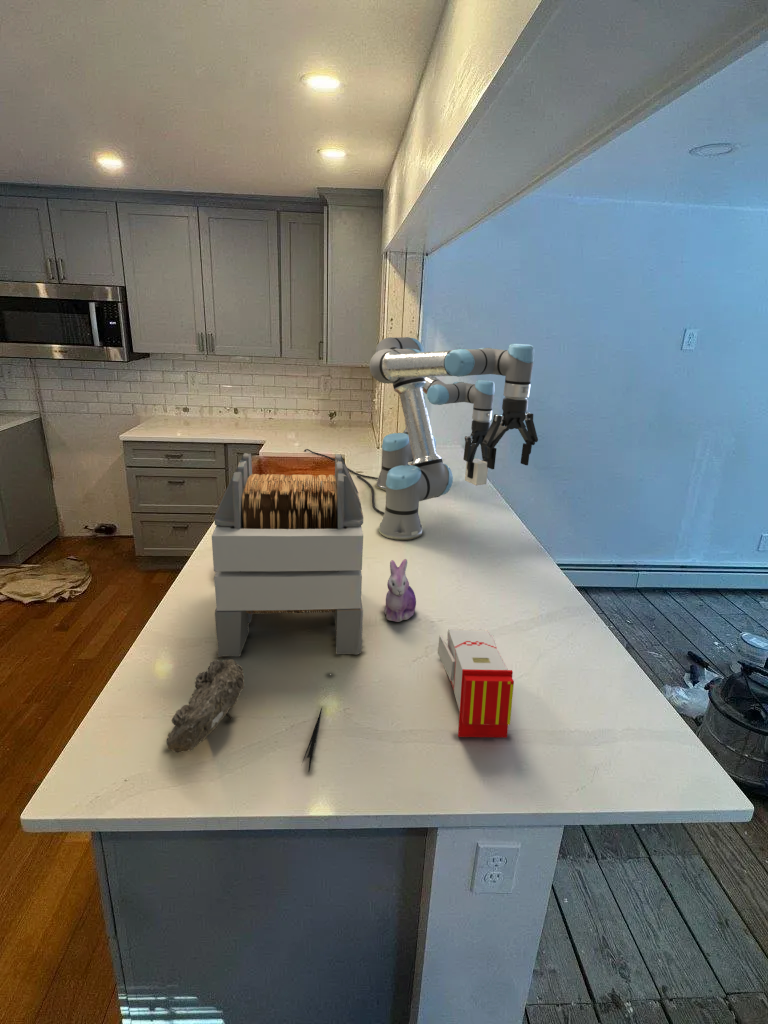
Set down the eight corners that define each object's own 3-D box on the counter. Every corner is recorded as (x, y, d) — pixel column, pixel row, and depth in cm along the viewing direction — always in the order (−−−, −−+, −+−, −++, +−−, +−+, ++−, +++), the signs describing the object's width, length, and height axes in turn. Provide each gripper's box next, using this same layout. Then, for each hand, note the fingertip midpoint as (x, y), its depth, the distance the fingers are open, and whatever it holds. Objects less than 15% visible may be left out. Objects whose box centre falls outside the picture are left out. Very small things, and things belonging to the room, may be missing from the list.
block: (476, 485, 228) (478, 463, 225) (464, 480, 235) (466, 459, 232) (486, 484, 231) (488, 462, 228) (474, 479, 237) (476, 458, 234)
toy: (488, 613, 130) (523, 677, 101) (484, 667, 133) (517, 744, 104) (435, 612, 130) (455, 676, 101) (432, 666, 133) (451, 743, 103)
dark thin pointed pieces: (331, 679, 122) (336, 673, 122) (307, 777, 96) (313, 769, 95) (324, 675, 122) (329, 669, 121) (298, 772, 95) (304, 764, 95)
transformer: (236, 587, 157) (228, 443, 143) (353, 586, 161) (357, 445, 147) (215, 659, 125) (203, 483, 111) (362, 655, 129) (368, 484, 115)
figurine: (392, 627, 141) (395, 572, 136) (374, 608, 149) (376, 556, 144) (425, 619, 145) (429, 566, 140) (405, 601, 154) (408, 550, 149)
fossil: (192, 660, 117) (244, 628, 112) (224, 691, 120) (276, 661, 115) (142, 746, 98) (202, 712, 93) (182, 779, 101) (242, 748, 96)
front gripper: (491, 401, 161) (483, 473, 168) (555, 398, 173) (545, 465, 180) (474, 397, 167) (468, 466, 175) (538, 394, 179) (529, 459, 186)
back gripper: (468, 423, 217) (463, 481, 225) (505, 421, 225) (499, 477, 233) (457, 419, 223) (452, 476, 231) (493, 417, 232) (487, 472, 239)
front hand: (507, 466), depth 177 cm, fingers open, 13 cm apart
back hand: (475, 476), depth 232 cm, fingers closed on block, 5 cm apart
